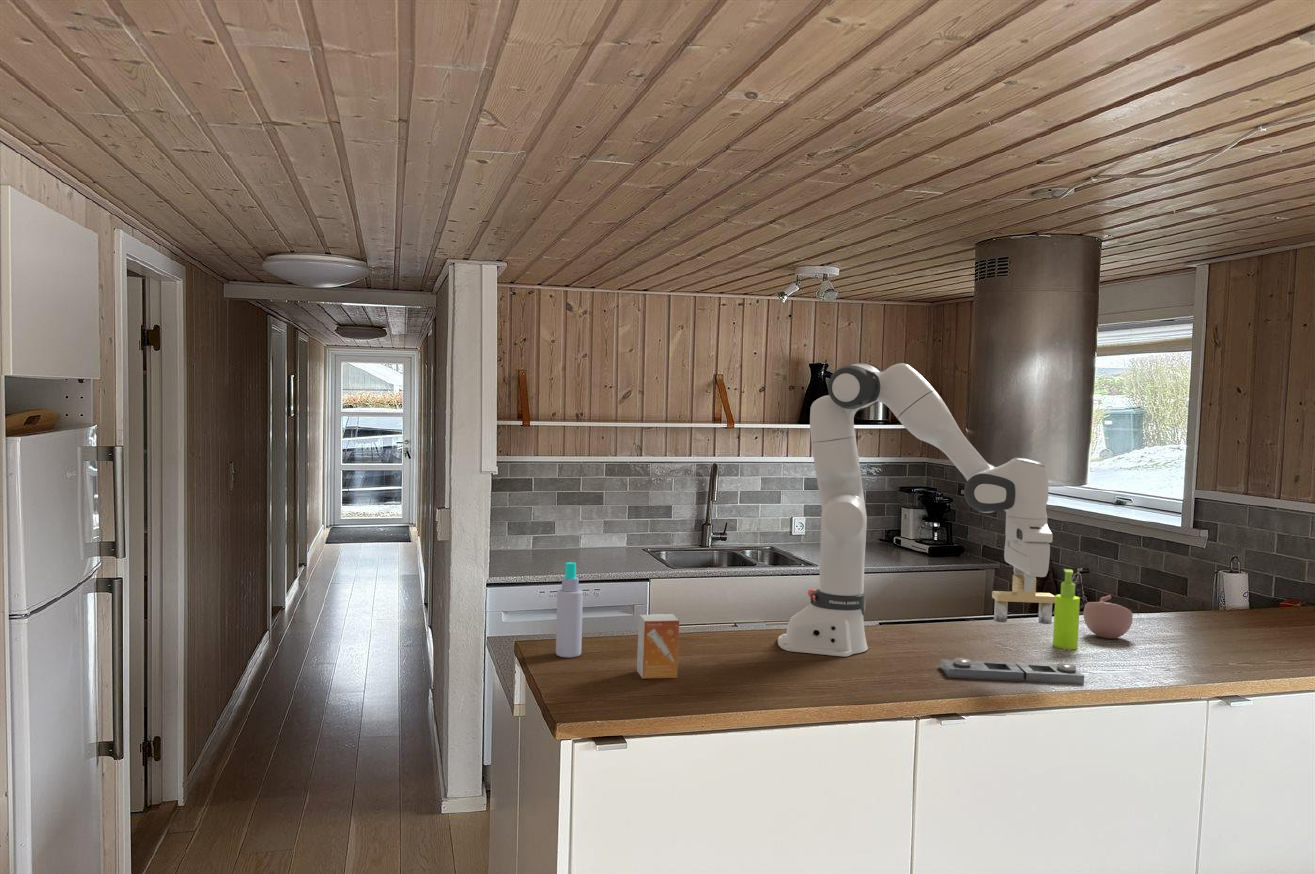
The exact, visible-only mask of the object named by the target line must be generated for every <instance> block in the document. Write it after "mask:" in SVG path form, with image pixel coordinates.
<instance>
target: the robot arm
mask: <svg viewBox="0 0 1315 874" xmlns="http://www.w3.org/2000/svg"><path fill="white" fill-rule="evenodd" d="M827 390H828V395H823V396H821V397H819V398H817V399H816V400H814V401H813V402H812V404H811V406H810V408H809V409H810V411H809V413H810V414H809V432H810V442H811V448H812V449H811V450H812V455H813V462H814V463H813V464H814V470H815V476H816V482H817V488H818V493H819V500H820V506H821V516H820V517H821V518H820V544H819V545H820V547H819V548H820V549H819V551H820V552H819V555H820V556H819V577H818V578H819V583H818V584H819V585H818V589H814V588H809V589H807V590H808V591H807V595H808V597H809V598H810V599H809V600H810V604H809V605H807V606H806V607H804V608H803V609H802V610H801V609H800V611H798V612H796V613H795V614H794V615H792V616H791V617H790V620H789V621H788V624H787V629H786V633H782V634H781V635H779V636H778V638H777V645H778V646H779V647H780V649H783V651H784V650H785V651H786V652H792V653H793V652H795V653H804V654H806V653H807V654H815V655H826V656H834V657H844V658H845V657H846V658H847V657H849V656H852V655H855V654H861V653H864V652H866V651H867V650H868V649H869V647H868V644H867V643H868V642H867V638H866V633H865V632H866V631H865V624H864V623H865V621H864V615H865V612H866V594H865V592H864V590H865V589H864V586H865V585H864V584H865V583H864V582H865V559H866V544H867V542H866V541H867V526H868V525H867V524H868V523H867V522H868V515H867V507H866V503H865V495H864V489H863V488H864V487H863V482H862V474H861V472H862V471H861V465H860V459H859V452H858V445H857V438H856V437H857V436H856V433H855V431H856V429H855V423H854V421H855V419H854V418H855V415H856V413H857V412H861V411H863V410H865V409H867V408H869V407H872V406H874V405H876V404H877V403H882V404H883V405H885V406H886V407H887V408H889V410H890V411H891V413H893V415H894V416H895V417H896V419H897V420H898V421H899V423H901V425H902V426H903V427H904V428H905V429H906V430H907V431H908V432H909V433H910V434H912V436H914V437H915V438H916V439H918V440H919V441H922V442H925V443H926V444H928V445H929V444H930V445H931V446H934V447H936V448H937V449H939V450H940V451H941V452H942V453H944V454H945V455H946V457H948V459H949V460H950V461H951V462H952V463H953V465H954V466H955V468H956V469H958V471H959V472H960V473H961V474H962V475H963V476H964V478H965V480H966V483H965V485H964V489H963V497H964V499H965V501H966V503H967V504H968V506H969V507H971V508H972V510H975V511H977V512H979V513H984V514H988V513H994V512H1000V511H1004V512H1005V513H1006V514H1005V531H1004V532H1005V539H1004V540H1005V542H1004V549H1003V551H1004V552H1003V553H1004V554H1003V557H1004V558H1003V559H1004V561H1005V562H1006V563H1008V564H1009V565H1011V567H1013V575H1024V577H1025V579H1024V583H1023V590H1024V591H1025V592H1032V591H1033V583H1034V581H1035V578H1036V577H1038V578H1044V577H1045V578H1046V577H1047V574H1048V573H1049V566H1050V555H1051V545H1050V543H1053V537H1054V536H1053V532H1052V531H1051V530H1050V528H1049V525H1048V514H1047V503H1048V501H1049V474H1048V469H1047V468H1046V467H1045V465H1044V464H1042V462H1040V461H1036V460H1033V459H1028V458H1022V457H1014V458H1013V457H1012V459H1011V460H1009V461H1007V462H1005V463H1003V464H1001V465H999V466H994V465H993V464H991V463H989V462H988V461H987V460H986V459H985V458H984V457H983V456H982V454H981V453H980V452H979V451H978V450H977V448H976V447H975V446H974V445H973V444H972V443H971V442H970V440H969V439H968V438H967V437H966V436H965V434H963V432H962V431H961V429H960V427H959V425H958V424H957V421H956V420H955V418H954V417H953V414H952V413H951V411H950V409H949V408H948V406H947V405H946V403H945V401H944V400H943V398H942V397H941V395H940V394H939V393H938V392H937V391H936V390H935V388H934V387H933V386H932V385H931V383H929V381H927V379H926V378H924V376H923V375H922V374H921V373H919V372H918V371H917V370H916V369H914V368H913V367H912V366H911V365H909V364H907V363H904V362H903V363H902V362H900V363H896V364H892V365H891V366H889V367H888V368H886V369H884V370H881V369H880V368H879V367H878V366H876V365H874V364H871V363H870V364H869V363H863V362H862V363H860V362H859V363H853V364H852V363H851V364H847V365H843V366H841V367H839V368H838V369H836V370H835V371H834V372H833V373H832V374H831V376H830V378H829V380H828V385H827Z"/></svg>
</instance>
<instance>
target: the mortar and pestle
mask: <svg viewBox="0 0 1315 874" xmlns="http://www.w3.org/2000/svg"><path fill="white" fill-rule="evenodd" d="M1111 599H1112V595H1110V594H1109V595H1106V596H1102V597H1100V598H1099V601H1088V602H1087V603H1085V605H1084V608H1083V621H1084V623H1085V625H1086V627H1087V628H1088V629H1089V631H1090V632H1091V633H1092V634H1093V635H1095V636H1098V637H1100V638H1103V639H1111V640H1112V639H1118V638H1120V637H1122V636H1124V635H1125V634H1127V632H1128V631H1129V630H1130V629H1131V626H1132V624H1133V617H1134V615H1133V612H1132V611H1131V610H1130V609H1129V608H1127V607H1125V606H1122V605H1120V604H1117V603H1112V602H1106V601H1109V600H1111Z"/></svg>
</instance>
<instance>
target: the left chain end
mask: <svg viewBox="0 0 1315 874" xmlns="http://www.w3.org/2000/svg"><path fill="white" fill-rule="evenodd" d="M939 663H940V664H939V669H941V670H942V672H943V673H944V674H945V675H946V677H947V678H951V679H952V678H953V679H954V678H955V679H969V680H971V679H972V680H989V681H990V680H991V681H1008V682H1009V681H1010V682H1011V681H1012V682H1024V681H1025V680H1024V672H1023V671H1022V670H1020V669H1019V668H1018V667H1017V666H1016V665H1015V663H1014V662H1013V661H1012V662H1010V661H1009V662H1008V661H1007V662H1006V661H989V660H988V661H986V660H971V659H969V658H964V657H963V658H962V657H955V658H953V659H950V658H949V659H947V658H940V662H939Z"/></svg>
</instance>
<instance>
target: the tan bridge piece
mask: <svg viewBox="0 0 1315 874" xmlns="http://www.w3.org/2000/svg"><path fill="white" fill-rule="evenodd" d="M1024 579H1025V577H1024V575H1014V574H1012V582H1011V583H1012V585H1011V586H1012V587H1011V589H1012V591H1002V590H993V591H992V592H991V598H992V599H993V600H994V607H993V608H994V610H993V611H994V613H993V621H994V622H996V623H1007V622H1008V603H1010V602H1013V603H1036V604H1037V603H1038V619H1037V620H1038V623H1039V624H1042V625H1051V624H1052V623H1053V622H1052V621H1053V620H1052V619H1053V618H1052V617H1053V604H1055V603H1056V597H1055V595H1054V594H1052V593H1050V592H1037V578H1036V577H1035V581H1034V583H1033V591H1032V592H1025V591H1024V590H1023V583H1024Z"/></svg>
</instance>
